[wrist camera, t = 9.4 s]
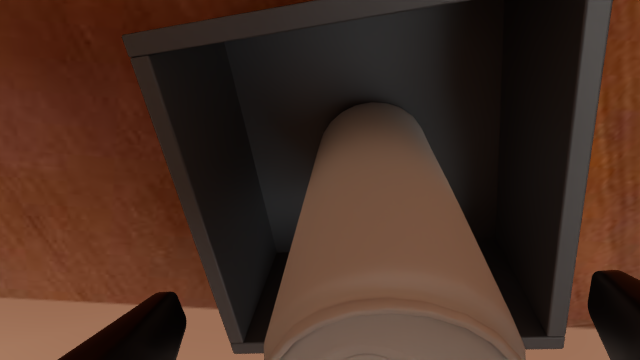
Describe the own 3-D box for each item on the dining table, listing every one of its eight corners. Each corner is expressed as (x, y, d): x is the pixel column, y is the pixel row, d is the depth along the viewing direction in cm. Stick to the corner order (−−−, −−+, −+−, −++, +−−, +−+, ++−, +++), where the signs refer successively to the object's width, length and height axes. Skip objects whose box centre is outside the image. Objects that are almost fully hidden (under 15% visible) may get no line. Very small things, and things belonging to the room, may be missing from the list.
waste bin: (504, 240, 19) (564, 349, 13) (271, 255, 21) (233, 354, 15) (516, -33, 14) (622, -56, 8) (211, 21, 16) (120, 35, 10)
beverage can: (369, 74, 16) (388, 243, 5) (450, 147, 17) (612, 416, 6) (298, 155, 18) (201, 404, 7) (375, 216, 19) (395, 515, 8)
